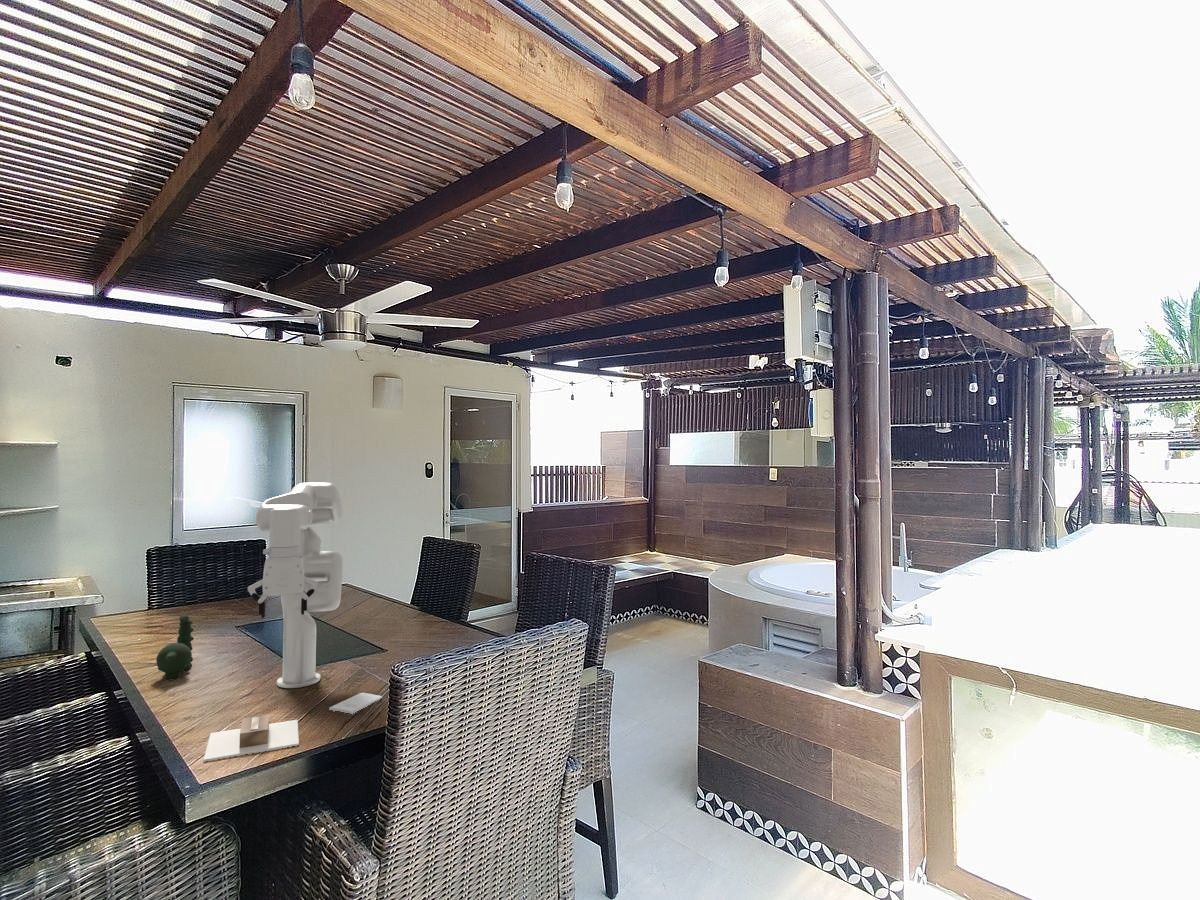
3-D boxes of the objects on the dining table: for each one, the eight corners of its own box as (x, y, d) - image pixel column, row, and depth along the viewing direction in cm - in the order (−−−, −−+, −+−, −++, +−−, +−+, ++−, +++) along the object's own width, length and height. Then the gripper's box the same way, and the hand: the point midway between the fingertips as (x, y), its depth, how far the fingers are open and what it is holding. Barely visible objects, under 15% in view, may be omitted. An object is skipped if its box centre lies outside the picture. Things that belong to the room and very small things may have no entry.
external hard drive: (382, 701, 185) (351, 716, 174) (360, 697, 188) (328, 712, 177) (382, 696, 185) (351, 710, 174) (360, 692, 188) (329, 706, 177)
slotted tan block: (239, 748, 151) (239, 732, 151) (242, 732, 160) (242, 717, 160) (267, 743, 154) (267, 728, 154) (268, 728, 163) (269, 713, 163)
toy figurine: (168, 669, 215) (149, 686, 192) (171, 613, 217) (152, 623, 194) (200, 666, 219) (185, 682, 196) (202, 611, 221) (188, 620, 198)
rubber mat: (210, 735, 160) (210, 733, 160) (297, 721, 169) (297, 719, 169) (203, 762, 145) (203, 759, 145) (298, 745, 154) (298, 743, 154)
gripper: (247, 556, 164) (246, 621, 164) (319, 552, 172) (318, 615, 172) (249, 552, 171) (247, 615, 171) (318, 549, 179) (317, 609, 178)
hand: (283, 615), depth 171 cm, fingers open, 9 cm apart
